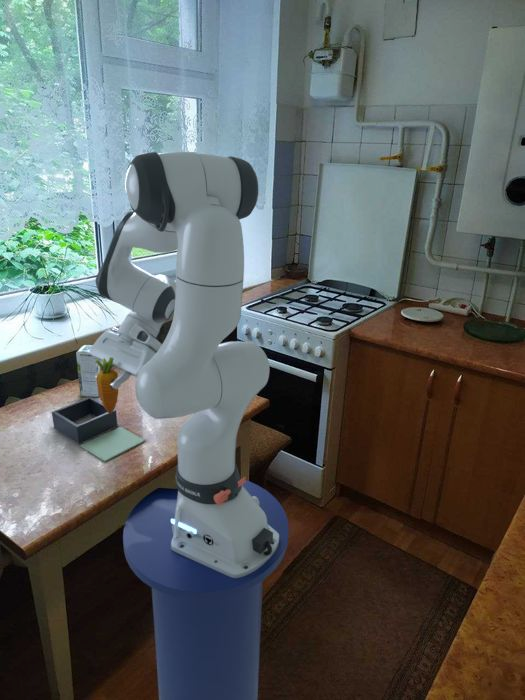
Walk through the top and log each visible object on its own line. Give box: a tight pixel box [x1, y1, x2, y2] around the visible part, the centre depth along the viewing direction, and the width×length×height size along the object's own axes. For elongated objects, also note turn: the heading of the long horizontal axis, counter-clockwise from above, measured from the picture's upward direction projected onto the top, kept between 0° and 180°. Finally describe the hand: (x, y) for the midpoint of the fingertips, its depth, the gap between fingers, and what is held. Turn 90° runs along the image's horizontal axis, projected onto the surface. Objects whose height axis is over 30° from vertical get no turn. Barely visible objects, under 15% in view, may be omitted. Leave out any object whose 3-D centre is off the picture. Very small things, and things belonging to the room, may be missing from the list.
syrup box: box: [75, 344, 100, 398], centre depth 148 cm, size 6×6×14 cm
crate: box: [51, 396, 118, 445], centre depth 131 cm, size 12×12×5 cm
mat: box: [80, 426, 146, 463], centre depth 125 cm, size 10×12×1 cm
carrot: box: [95, 357, 119, 414], centre depth 119 cm, size 5×5×15 cm
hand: (105, 384), depth 118 cm, fingers closed on carrot, 4 cm apart
